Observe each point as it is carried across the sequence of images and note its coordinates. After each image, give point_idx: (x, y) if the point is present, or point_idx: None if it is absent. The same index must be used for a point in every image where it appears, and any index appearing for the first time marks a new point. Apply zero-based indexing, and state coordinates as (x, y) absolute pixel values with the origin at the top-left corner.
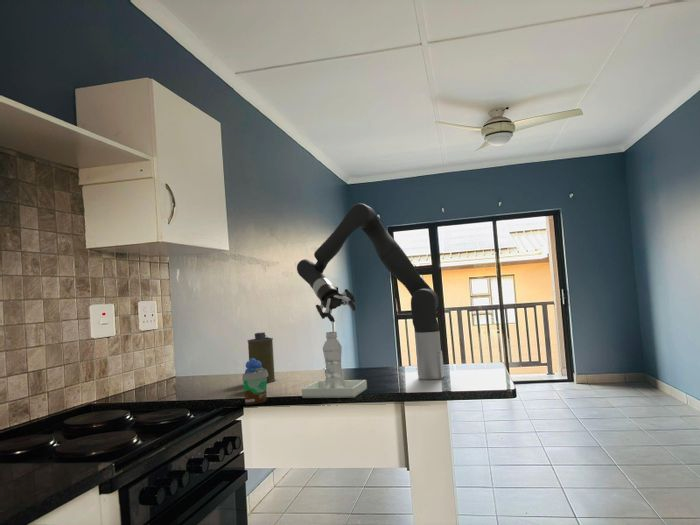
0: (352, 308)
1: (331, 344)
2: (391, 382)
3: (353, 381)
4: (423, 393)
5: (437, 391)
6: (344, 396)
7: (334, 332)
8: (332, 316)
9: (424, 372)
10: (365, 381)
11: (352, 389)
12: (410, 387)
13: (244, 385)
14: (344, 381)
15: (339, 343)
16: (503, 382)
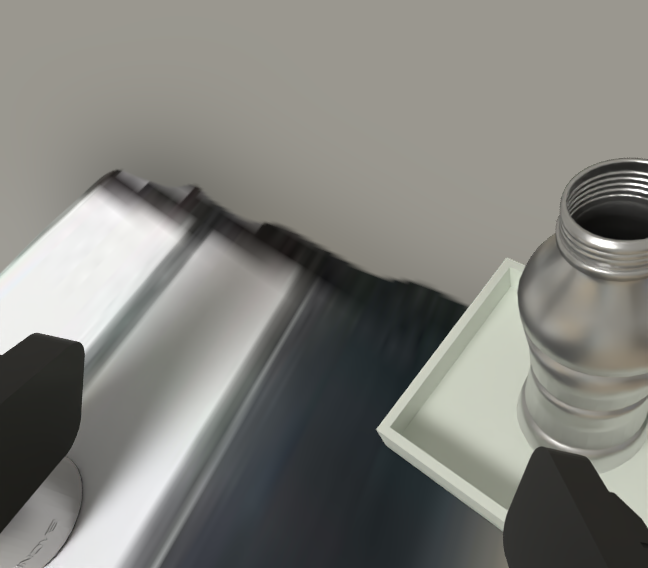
0: (73, 380)
1: (623, 217)
2: (209, 538)
3: (445, 467)
4: (263, 236)
5: (215, 243)
6: None
7: (592, 167)
8: (562, 467)
9: (57, 467)
10: (389, 415)
11: (510, 262)
12: (229, 354)
13: None
14: (497, 505)
15: (540, 247)
16: (13, 269)
